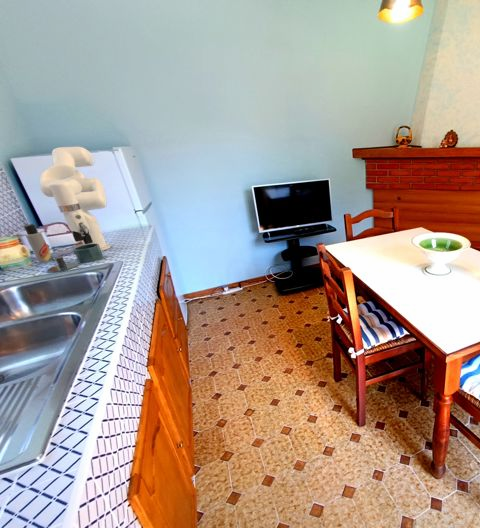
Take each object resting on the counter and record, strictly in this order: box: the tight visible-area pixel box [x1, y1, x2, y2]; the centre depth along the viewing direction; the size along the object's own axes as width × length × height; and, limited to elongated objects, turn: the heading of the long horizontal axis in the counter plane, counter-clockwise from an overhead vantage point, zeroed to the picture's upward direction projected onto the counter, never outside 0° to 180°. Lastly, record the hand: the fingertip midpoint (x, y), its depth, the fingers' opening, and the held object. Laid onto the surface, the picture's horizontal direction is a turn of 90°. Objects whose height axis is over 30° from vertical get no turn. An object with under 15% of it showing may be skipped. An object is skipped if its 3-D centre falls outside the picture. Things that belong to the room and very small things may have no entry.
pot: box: [72, 244, 105, 264], centre depth 151 cm, size 10×10×7 cm
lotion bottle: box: [23, 223, 55, 264], centre depth 149 cm, size 6×6×20 cm
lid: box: [46, 256, 79, 274], centre depth 142 cm, size 11×11×6 cm
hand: (84, 242), depth 149 cm, fingers open, 9 cm apart
